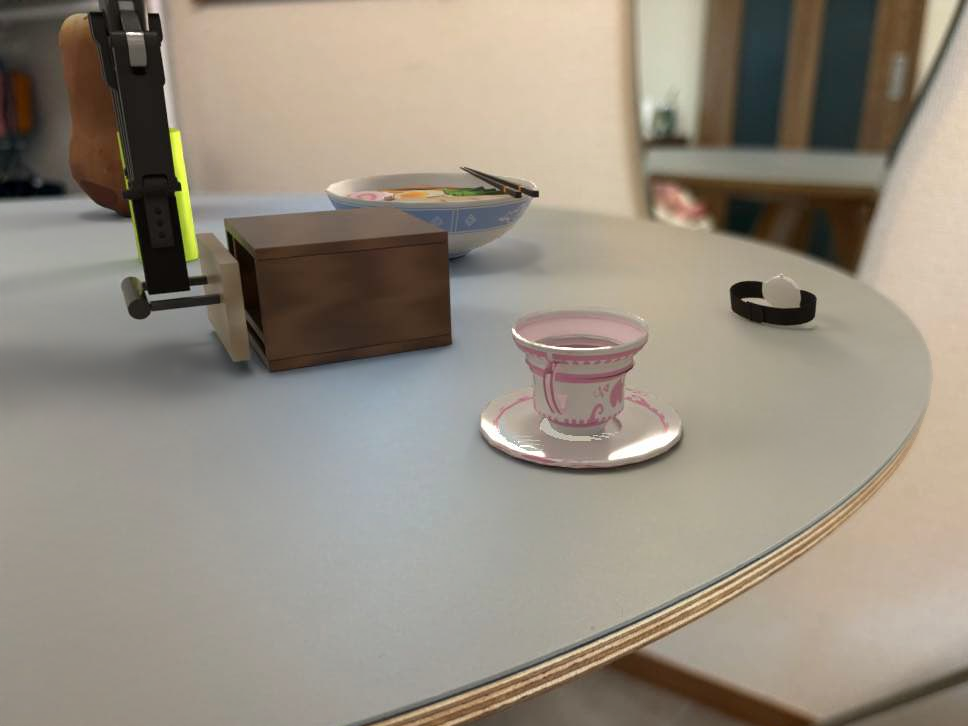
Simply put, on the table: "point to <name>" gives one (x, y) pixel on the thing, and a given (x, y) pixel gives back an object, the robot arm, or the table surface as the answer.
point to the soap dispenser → (181, 198)
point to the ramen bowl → (444, 202)
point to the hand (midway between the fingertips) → (168, 290)
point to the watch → (774, 301)
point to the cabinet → (345, 284)
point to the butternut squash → (91, 119)
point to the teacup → (582, 392)
